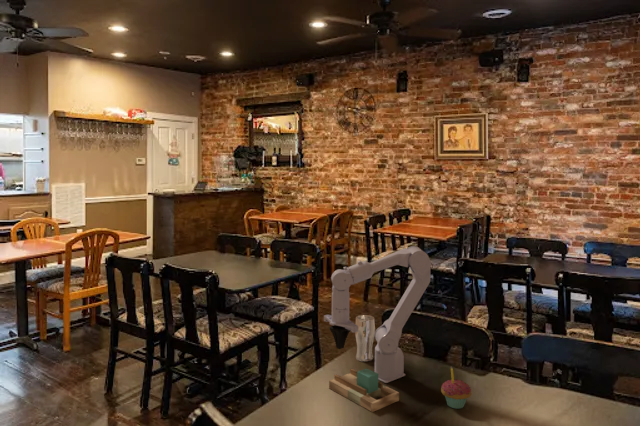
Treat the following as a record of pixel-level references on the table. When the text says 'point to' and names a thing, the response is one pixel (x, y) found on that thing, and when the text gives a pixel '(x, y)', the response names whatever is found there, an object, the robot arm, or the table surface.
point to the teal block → (367, 380)
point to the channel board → (363, 392)
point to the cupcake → (455, 392)
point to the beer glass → (365, 337)
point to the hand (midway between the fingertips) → (340, 347)
